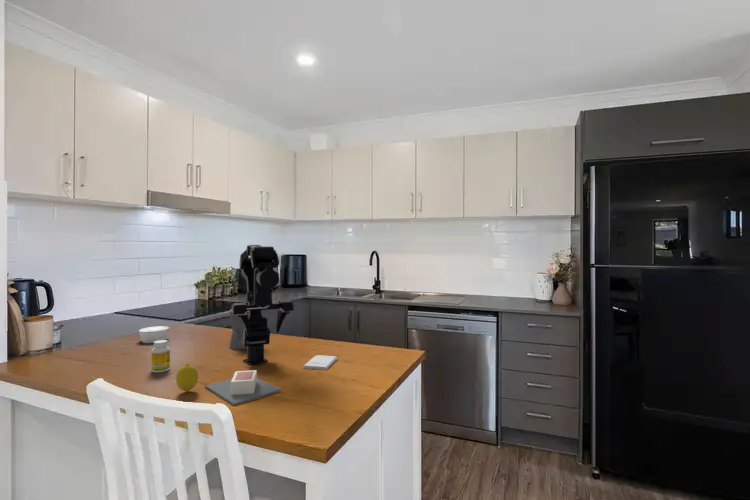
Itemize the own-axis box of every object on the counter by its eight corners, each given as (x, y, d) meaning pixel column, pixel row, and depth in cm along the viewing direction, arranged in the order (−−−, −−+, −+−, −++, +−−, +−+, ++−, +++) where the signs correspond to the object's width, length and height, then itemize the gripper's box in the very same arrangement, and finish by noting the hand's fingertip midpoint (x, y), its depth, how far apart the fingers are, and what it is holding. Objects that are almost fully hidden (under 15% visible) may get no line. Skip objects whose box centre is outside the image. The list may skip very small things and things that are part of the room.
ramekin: (132, 343, 163) (132, 330, 163) (152, 337, 174) (152, 325, 174) (156, 344, 162) (156, 332, 161) (174, 338, 173) (174, 326, 173)
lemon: (181, 388, 112) (181, 361, 112) (200, 388, 113) (201, 360, 113) (172, 396, 107) (172, 367, 107) (193, 395, 107) (193, 366, 107)
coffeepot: (259, 347, 158) (259, 303, 158) (236, 352, 151) (237, 305, 151) (242, 340, 169) (242, 299, 169) (220, 344, 162) (220, 301, 162)
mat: (205, 387, 113) (205, 385, 113) (249, 376, 123) (249, 374, 123) (233, 405, 101) (233, 403, 101) (280, 391, 111) (280, 389, 111)
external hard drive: (336, 360, 143) (326, 371, 130) (315, 359, 144) (303, 369, 132) (336, 356, 143) (326, 366, 130) (315, 355, 144) (303, 365, 132)
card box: (230, 394, 106) (230, 381, 106) (235, 383, 115) (235, 371, 115) (253, 393, 108) (253, 380, 108) (256, 382, 116) (256, 369, 116)
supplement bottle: (152, 369, 130) (152, 340, 130) (170, 366, 132) (170, 338, 132) (150, 373, 125) (150, 344, 125) (169, 371, 127) (169, 342, 127)
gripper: (286, 282, 136) (286, 326, 137) (229, 284, 128) (229, 331, 128) (294, 285, 126) (294, 333, 127) (233, 287, 118) (233, 338, 118)
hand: (263, 333), depth 125 cm, fingers open, 9 cm apart
